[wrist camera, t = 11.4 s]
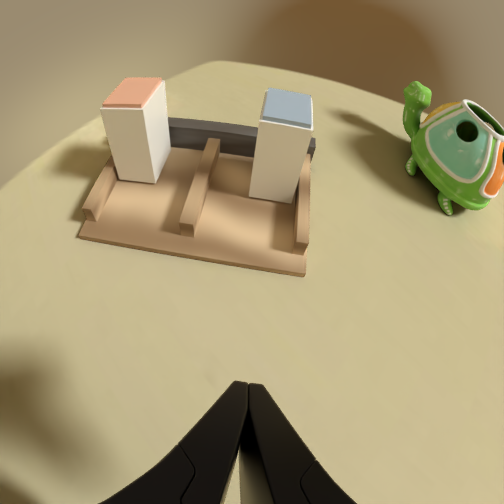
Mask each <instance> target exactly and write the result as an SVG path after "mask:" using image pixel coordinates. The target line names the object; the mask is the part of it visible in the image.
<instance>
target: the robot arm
mask: <svg viewBox="0 0 504 504" xmlns="http://www.w3.org/2000/svg"><path fill="white" fill-rule="evenodd" d="M238 450H239V475H240V498H241V504H357V503H356V502H355V501H354V500H352V499H351V498H350V497H349V496H348V495H347V494H346V493H345V492H344V491H343V490H342V489H341V488H340V487H339V486H338V485H337V484H336V483H335V482H334V480H333V479H332V478H331V477H330V476H329V474H328V473H327V472H326V471H325V470H324V468H323V467H322V466H321V464H320V463H319V462H318V461H317V460H316V458H315V457H314V455H313V454H312V453H311V451H310V450H309V449H308V447H307V446H306V445H305V443H304V442H303V440H302V439H301V438H300V436H299V435H298V434H297V432H296V431H295V429H294V428H293V427H292V425H291V424H290V422H289V421H288V420H287V418H286V417H285V415H284V414H283V413H282V411H281V410H280V408H279V407H278V405H277V404H276V403H275V401H274V400H273V398H272V397H271V395H270V394H269V392H268V391H267V390H266V388H265V387H264V385H262V384H256V383H249V385H248V383H247V382H241V381H234V382H233V383H232V384H231V385H230V386H229V387H228V388H227V389H226V391H225V392H224V393H223V394H222V395H221V396H220V398H219V399H218V400H217V401H216V402H215V403H214V404H213V405H212V407H211V408H210V409H209V410H208V411H207V412H206V413H205V414H204V416H203V417H202V418H201V419H200V420H199V421H198V422H197V423H196V424H195V426H194V427H193V428H192V429H191V430H190V431H189V432H188V433H187V434H186V435H185V436H184V437H183V438H182V440H181V441H180V442H179V443H178V445H176V446H175V447H174V448H173V449H172V450H171V451H170V452H169V453H168V454H167V455H166V456H165V457H164V458H163V459H162V460H161V461H160V462H159V463H157V464H156V465H155V466H154V467H152V468H151V469H150V470H149V471H147V472H146V473H145V474H143V475H142V476H141V477H139V478H138V479H136V480H135V481H133V482H132V483H131V484H129V485H128V486H126V487H125V488H123V489H122V490H120V491H119V492H117V493H116V494H114V495H113V496H111V497H110V498H108V499H106V500H105V501H103V502H101V503H98V504H224V501H225V498H226V494H227V491H228V487H229V484H230V480H231V477H232V473H233V470H234V466H235V462H236V459H237V454H238Z"/></svg>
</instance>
